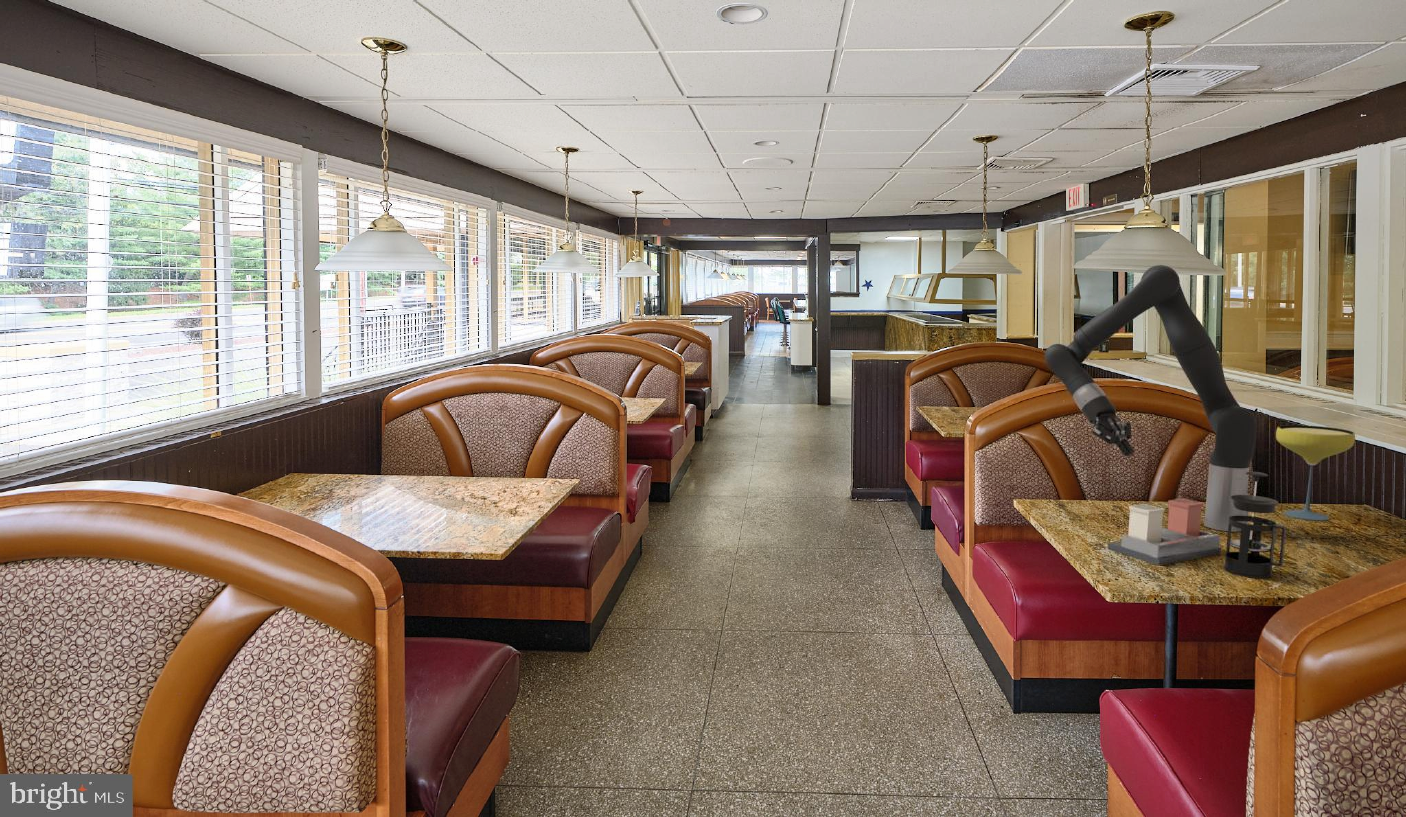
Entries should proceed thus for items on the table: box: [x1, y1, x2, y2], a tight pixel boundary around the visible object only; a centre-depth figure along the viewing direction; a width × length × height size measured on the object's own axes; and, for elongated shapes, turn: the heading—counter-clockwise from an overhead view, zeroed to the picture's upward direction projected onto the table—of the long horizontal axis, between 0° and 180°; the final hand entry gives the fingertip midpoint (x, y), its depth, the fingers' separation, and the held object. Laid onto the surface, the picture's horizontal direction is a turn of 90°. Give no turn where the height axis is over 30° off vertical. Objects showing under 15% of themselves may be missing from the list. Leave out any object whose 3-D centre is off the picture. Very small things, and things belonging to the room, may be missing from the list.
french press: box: [1223, 471, 1287, 579], centre depth 190 cm, size 12×9×23 cm
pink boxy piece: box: [1167, 498, 1204, 537], centre depth 210 cm, size 5×5×10 cm
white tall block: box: [1127, 503, 1166, 544], centre depth 204 cm, size 5×5×10 cm
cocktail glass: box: [1275, 424, 1356, 522], centre depth 240 cm, size 18×18×25 cm
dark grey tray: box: [1107, 527, 1222, 566], centre depth 207 cm, size 14×22×4 cm, turn 115°
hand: (1130, 454), depth 222 cm, fingers closed
